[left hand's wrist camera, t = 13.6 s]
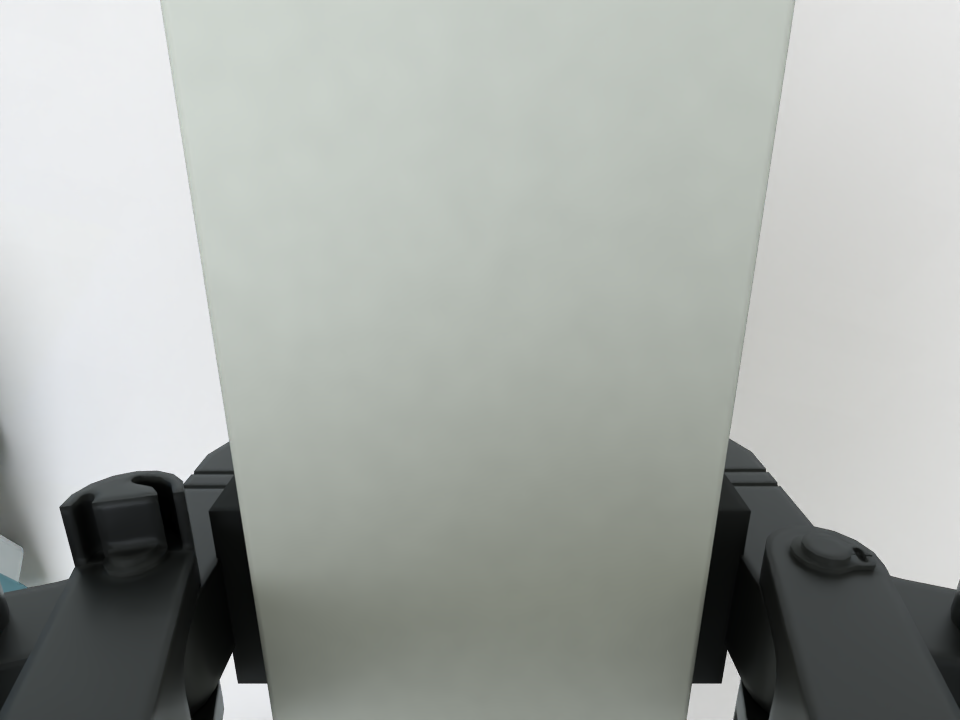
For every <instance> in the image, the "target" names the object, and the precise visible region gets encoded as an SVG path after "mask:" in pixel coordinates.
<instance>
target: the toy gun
mask: <svg viewBox="0 0 960 720" xmlns="http://www.w3.org/2000/svg"><path fill="white" fill-rule="evenodd" d="M23 555H24V552H23V548H22V547H21V546H19V545H17V544H16V543H14V542H12V541H10V540H9V539H7V538H5V537H3V536H2V535H0V582H1V586H2V589H3V592H4V593H5V592H10V591H15V590H20V589H25V588H27V587H26V586H25V585H23V584H21V583H19V577H20V572H21V566H22V561H23Z"/></svg>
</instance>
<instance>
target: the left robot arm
mask: <svg viewBox="0 0 960 720" xmlns="http://www.w3.org/2000/svg"><path fill="white" fill-rule="evenodd" d="M59 508H60V511H61V515H62V519H63V523H64V526H65V530H66V534H67V538H68V542H69V545H70V549H71V553H72V557H73V560H74V564H75V568H74V570H73V572H72V574H71V576H70V578H69V579H67V580H63V581H59V582H55V583H50V584H45V585H40V586H35V587H30V588H25V589H20V590H15V591H10V592H5V593H4V592H3V589H2V586H1V582H0V720H223V713H224V705H223V697H222V691H221V685H220V678H221V675H222V673H223V671H224V669H225V667H226V665H227V663H228V661H229V658H230V656H231V654H232V652H233V657H234V663H235V669H236V674H237V680H238V683H267V678H266V671H265V665H264V658H263V652H262V646H261V639H260V633H259V627H258V620H257V614H256V607H255V601H254V595H253V588H252V582H251V576H250V569H249V563H248V557H247V550H246V544H245V537H244V531H243V525H242V518H241V512H240V506H239V499H238V493H237V486H236V480H235V474H234V467H233V461H232V455H231V448H230V442H228V443H226V444H225V445H223V446H221V447H220V448H218V449H216V450H215V451H213V452H211V453H210V454H208V455H207V456H206V458H205V459H204V460H203V461H202V462H201V464H200V465H199V466H198V467H197V468H196V470H195V471H194V475H191V476H190V477H189V478H188V479H187V480H186V482H185V483H184V484H183V481H182V480H180V479H179V478H178V477H177V476H175V475H174V474H170V473H166V472H161V471H136V472H131V473H125V474H120V475H115V476H112V477H109V478H106V479H103V480H101V481H98V482H95V483H92V484H90V485H88V486H86V487H85V488H83V489H81V490H79V491H78V492H76V493H74V494H72V495H71V496H70V497H69V498H68V499H67V500H66V501H65V502H64V503H63V504H62V505H61V506H60V507H59ZM727 650H728V652H729V654H730V656H731V658H732V660H733V662H734V664H735V667H736V669H737V671H738V673H739V675H740V677H741V680H740V685H739V691H738V696H737V702H736V707H735V712H734V718H733V720H960V581H959V584H958V587H957V590H955V589H950V588H945V587H940V586H935V585H930V584H925V583H920V582H915V581H910V580H905V579H900V578H897V577H893V576H890V575H889V573H888V571H887V569H886V567H885V565H884V564H883V563H882V562H881V561H880V559H879V558H878V557H877V556H876V555H875V553H874V552H872V551H871V550H869V549H868V548H867V547H865V546H864V545H862V544H861V543H859V542H858V541H856V540H854V539H852V538H849V537H847V536H845V535H842V534H840V533H837V532H835V531H832V530H827V529H823V528H819V527H814V526H813V525H812V524H811V522H810V521H809V520H808V519H807V518H806V516H805V515H804V514H803V513H802V512H801V510H800V509H799V508H798V507H797V506H796V504H795V503H794V502H793V501H792V500H791V498H790V497H789V496H788V495H787V494H786V492H785V491H784V490H783V489H782V488H781V486H778V485H777V482H776V480H775V479H774V478H773V477H772V476H771V474H770V473H769V472H766V468H765V467H764V466H763V465H762V464H761V463H760V461H759V460H758V459H757V458H756V457H755V455H754V454H753V453H752V452H751V451H749V450H747V449H746V448H744V447H742V446H741V445H739V444H737V443H736V442H734V441H732V440H731V439H729V441H728V448H727V454H726V461H725V468H724V474H723V481H722V487H721V494H720V501H719V507H718V514H717V520H716V527H715V534H714V540H713V547H712V553H711V560H710V567H709V573H708V580H707V586H706V593H705V600H704V606H703V613H702V619H701V626H700V633H699V639H698V646H697V652H696V659H695V666H694V672H693V679H692V683H722V678H723V672H724V666H725V660H726V654H727Z"/></svg>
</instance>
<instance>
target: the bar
mask: <svg viewBox="0 0 960 720" xmlns="http://www.w3.org/2000/svg"><path fill="white" fill-rule="evenodd" d="M160 2H161V9H162V15H163V21H164V28H165V34H166V41H167V47H168V53H169V60H170V66H171V72H172V79H173V85H174V92H175V98H176V104H177V111H178V117H179V123H180V130H181V136H182V142H183V149H184V155H185V162H186V168H187V174H188V181H189V187H190V193H191V200H192V206H193V213H194V219H195V225H196V232H197V238H198V244H199V251H200V257H201V264H202V270H203V276H204V283H205V289H206V295H207V302H208V308H209V314H210V321H211V327H212V334H213V340H214V346H215V353H216V359H217V365H218V372H219V378H220V385H221V391H222V397H223V404H224V410H225V416H226V423H227V429H228V435H229V442H230V448H231V455H232V461H233V467H234V474H235V480H236V486H237V493H238V499H239V506H240V512H241V518H242V525H243V531H244V537H245V544H246V550H247V557H248V563H249V569H250V576H251V582H252V588H253V595H254V601H255V607H256V614H257V620H258V627H259V633H260V639H261V646H262V652H263V658H264V665H265V671H266V678H267V684H268V690H269V697H270V703H271V709H272V716H273V720H686V718H687V712H688V705H689V699H690V692H691V685H692V679H693V672H694V666H695V659H696V652H697V646H698V639H699V633H700V626H701V619H702V613H703V606H704V600H705V593H706V586H707V580H708V573H709V567H710V560H711V553H712V547H713V540H714V534H715V527H716V520H717V514H718V507H719V501H720V494H721V487H722V481H723V474H724V468H725V461H726V454H727V448H728V441H729V434H730V428H731V421H732V415H733V408H734V401H735V395H736V388H737V382H738V375H739V368H740V362H741V355H742V349H743V342H744V335H745V329H746V322H747V316H748V309H749V302H750V296H751V289H752V283H753V276H754V269H755V263H756V256H757V250H758V243H759V236H760V230H761V223H762V217H763V210H764V203H765V197H766V190H767V183H768V177H769V170H770V164H771V157H772V150H773V144H774V137H775V131H776V124H777V117H778V111H779V104H780V98H781V91H782V84H783V78H784V71H785V65H786V58H787V51H788V45H789V38H790V32H791V25H792V18H793V12H794V5H795V0H160Z"/></svg>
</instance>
